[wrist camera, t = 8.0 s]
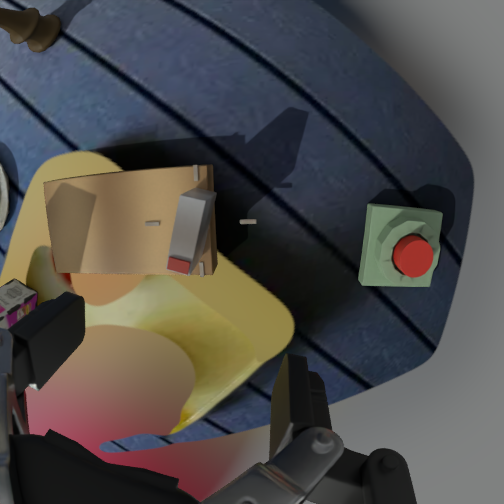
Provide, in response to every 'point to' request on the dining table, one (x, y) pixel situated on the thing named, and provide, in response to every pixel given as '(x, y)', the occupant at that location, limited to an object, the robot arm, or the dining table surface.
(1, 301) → the candy bar box
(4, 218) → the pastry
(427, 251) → the button
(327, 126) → the dining table surface
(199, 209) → the tap lever
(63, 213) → the panel
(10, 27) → the kendama
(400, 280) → the button box
